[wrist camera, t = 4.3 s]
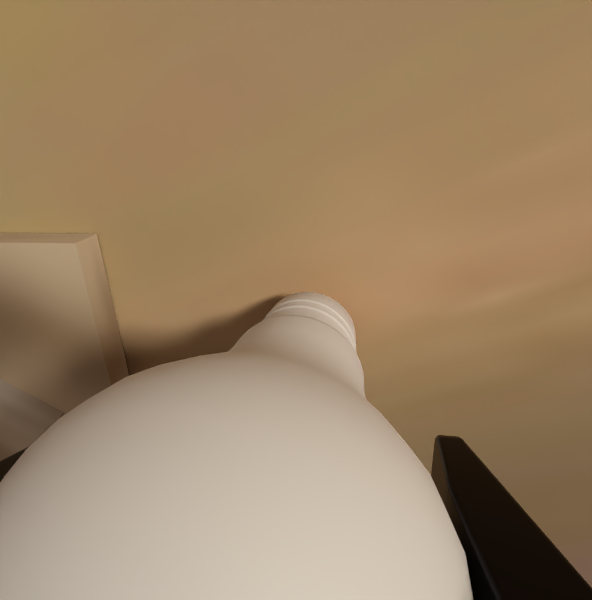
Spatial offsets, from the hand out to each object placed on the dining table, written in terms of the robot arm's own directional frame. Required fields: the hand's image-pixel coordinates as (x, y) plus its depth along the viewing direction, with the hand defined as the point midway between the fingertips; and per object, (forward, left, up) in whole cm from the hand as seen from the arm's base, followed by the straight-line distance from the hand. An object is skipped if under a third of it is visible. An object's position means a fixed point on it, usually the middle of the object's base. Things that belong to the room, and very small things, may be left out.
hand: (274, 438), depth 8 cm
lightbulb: (0, 0, -5) cm, 5 cm away
